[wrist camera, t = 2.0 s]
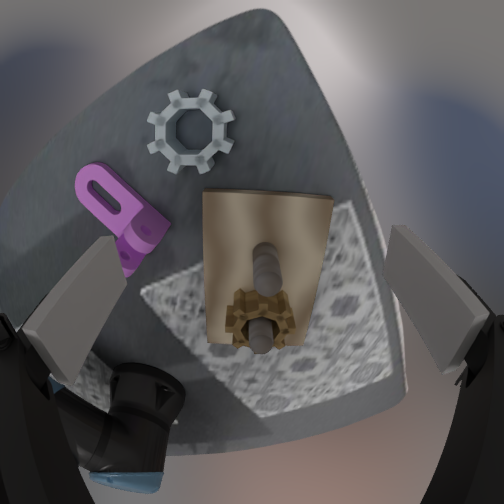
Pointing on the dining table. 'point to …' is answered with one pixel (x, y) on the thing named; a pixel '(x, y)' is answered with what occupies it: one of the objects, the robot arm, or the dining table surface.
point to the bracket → (122, 214)
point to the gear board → (262, 225)
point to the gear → (167, 131)
